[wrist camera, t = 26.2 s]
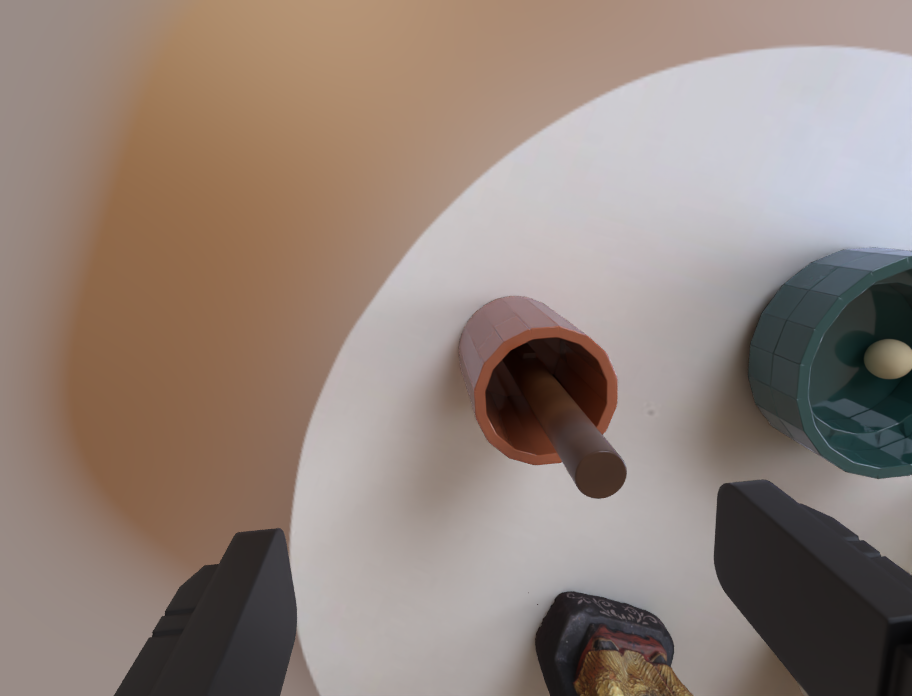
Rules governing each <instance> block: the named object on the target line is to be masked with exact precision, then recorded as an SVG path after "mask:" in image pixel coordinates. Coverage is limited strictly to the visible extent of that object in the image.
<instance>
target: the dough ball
mask: <svg viewBox="0 0 912 696" xmlns="http://www.w3.org/2000/svg"><path fill="white" fill-rule="evenodd" d="M864 363H865V366H866V368H867V369H868V371H869V372H871V373H872V374H873V375H875V376H877V377H879V378H883V379H896V378H900V377H902V376H904V375H906V374H907V373H908V372H910V370H911V369H912V350H911V348H910V347H909V346H908V345H906V344H905V343H903V342H901V341H898V340H894V339H884V340H880V341H877V342H875V343H873V344H872V345H870V346H869V347H868V349H867V350H866V352H865V354H864Z"/></svg>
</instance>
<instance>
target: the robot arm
mask: <svg viewBox="0 0 912 696" xmlns="http://www.w3.org/2000/svg"><path fill="white" fill-rule="evenodd" d="M714 564H715V570H716V574H717V577H718V580H719V582H720V584H721V586H722V588H723V590H724V592H725V593H726V594H727V596H728V597H729V598H730V599H731V601H732V602H733V603H734V604H735V605H736V607H737V608H738V609H739V610H740V612H741V613H742V614H743V615H744V617H745V618H746V619H747V620H748V622H749V623H750V624H751V625H752V626H753V628H754V629H755V630H756V631H757V633H758V634H759V635H760V636H761V638H762V639H763V640H764V641H765V642H766V644H767V645H768V646H769V647H770V649H771V650H772V651H773V652H774V654H775V655H776V656H777V657H778V658H779V660H780V661H781V662H782V663H783V665H784V666H785V667H786V668H787V670H788V671H789V672H790V673H791V674H792V676H793V677H794V678H795V679H796V681H797V682H798V683H799V684H800V686H801V687H802V688H803V689H804V690H805V692H806V693H807V694H808V695H809V696H912V576H911V575H910V574H909V573H907V572H906V571H905V570H903V569H902V568H900V567H899V566H898V565H896V564H895V563H894V562H892V561H891V560H890V559H888V558H887V557H886V556H883V557H881V555H880V552H879V551H877V550H876V549H875V548H873V547H872V546H871V545H869V544H868V543H867V542H865V541H864V540H861V541H860V540H859V538H858V536H857V535H856V534H854V533H853V532H852V531H850V530H849V529H848V528H846V527H845V526H844V525H842V524H841V523H840V522H838V521H837V520H835V519H834V518H832V517H830V516H828V515H826V514H823V513H821V512H819V511H817V510H815V509H812V508H810V507H808V506H806V505H803V504H799V503H797V502H796V501H795V500H794V499H792V498H791V497H790V496H788V495H787V494H786V493H784V492H783V491H782V490H781V489H779V488H778V487H777V486H775V485H774V484H773V483H771V482H770V481H768V480H753V481H744V482H734V483H725V484H723V485H722V486H721V487H720V489H719V491H718V496H717V511H716V528H715V546H714ZM296 627H297V607H296V598H295V592H294V586H293V580H292V574H291V568H290V562H289V556H288V550H287V544H286V539H285V535H284V532H283V530H282V529H280V528H276V529H268V530H257V531H247V532H238V533H236V534H235V536H234V537H233V539H232V541H231V543H230V545H229V546H228V548H227V550H226V552H225V554H224V556H223V557H222V559H221V561H220V563H219V564H215V565H205V566H203V567H202V568H201V569H200V570H199V571H198V572H197V573H195V574H194V575H193V576H192V577H191V578H190V579H189V580H187V581H186V582H185V583H184V584H183V585H182V586H181V587H180V588H179V589H178V591H177V593H176V594H175V596H174V598H173V599H172V601H171V602H170V604H169V606H168V607H167V609H166V611H165V616H162V617H161V619H160V621H159V622H158V624H157V625H156V627H155V629H154V630H153V632H152V633H153V635H152V637H150V638H149V639H148V640H147V642H146V644H145V645H144V647H143V648H142V650H141V652H140V653H139V655H138V657H137V658H136V660H135V662H134V663H133V665H132V667H131V668H130V670H129V672H128V673H127V675H126V676H125V678H124V680H123V681H122V683H121V685H120V686H119V688H118V690H117V691H116V693H115V695H114V696H280V694H281V690H282V686H283V683H284V679H285V675H286V671H287V668H288V664H289V660H290V656H291V653H292V649H293V645H294V641H295V636H296Z"/></svg>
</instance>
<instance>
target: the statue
mask: <svg viewBox="0 0 912 696" xmlns="http://www.w3.org/2000/svg"><path fill="white" fill-rule="evenodd" d="M528 593H529V592H528ZM537 605H538V604H537ZM535 640H536V641H535V645H536V652H537V657H538V661H539V664H540V667H541V670H542V673H543V677H544V680H545V683H546V685H547V688H548V691H549V693H550V696H693V694H692V693H690V692H689V691H688V689H687V688H686V687H685V686H684V685H683V684H682V683H681V682H680V680H679V679H678V678H677V676H676V675H675V673H674V671H673V670H672V668H671V663H672V660H673V654H674V644H673V641H672V638H671V636H670V634H669V632H668V631H667V629H666V628H665V626H664V624H663V623H662V622H661V620H660V619H659V618H658V617H657V616H655V615H653V614H651V613H650V612H648V611H646V610H642V609H639V608H636V607H633V606H631V605H629V604H626V603H620V602H616V601H613V600H610V599H606V598H603V597H598V596H592V595H587V594H583V593H577V592H564V593H561V594H559V595H558V596H557V597H556V598H555V602H554V604H553V605H551V609H550V610H549V611H548V613H547V616H546V617H545V618H544V619H543V622H542V625H541V627H539V629H538V631H537V633H536V639H535Z"/></svg>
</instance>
